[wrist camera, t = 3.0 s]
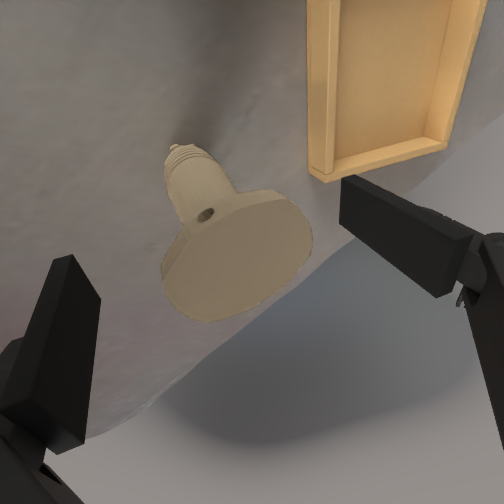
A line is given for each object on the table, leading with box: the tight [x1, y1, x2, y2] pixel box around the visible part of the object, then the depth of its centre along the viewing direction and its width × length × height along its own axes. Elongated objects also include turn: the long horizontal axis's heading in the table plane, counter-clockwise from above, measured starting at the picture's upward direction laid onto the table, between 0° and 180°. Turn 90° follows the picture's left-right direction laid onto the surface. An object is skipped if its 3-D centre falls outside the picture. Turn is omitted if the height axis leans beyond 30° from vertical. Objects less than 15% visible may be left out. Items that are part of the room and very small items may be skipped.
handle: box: [161, 143, 313, 323], centre depth 17 cm, size 5×6×15 cm
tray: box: [307, 0, 488, 183], centre depth 23 cm, size 17×14×3 cm
